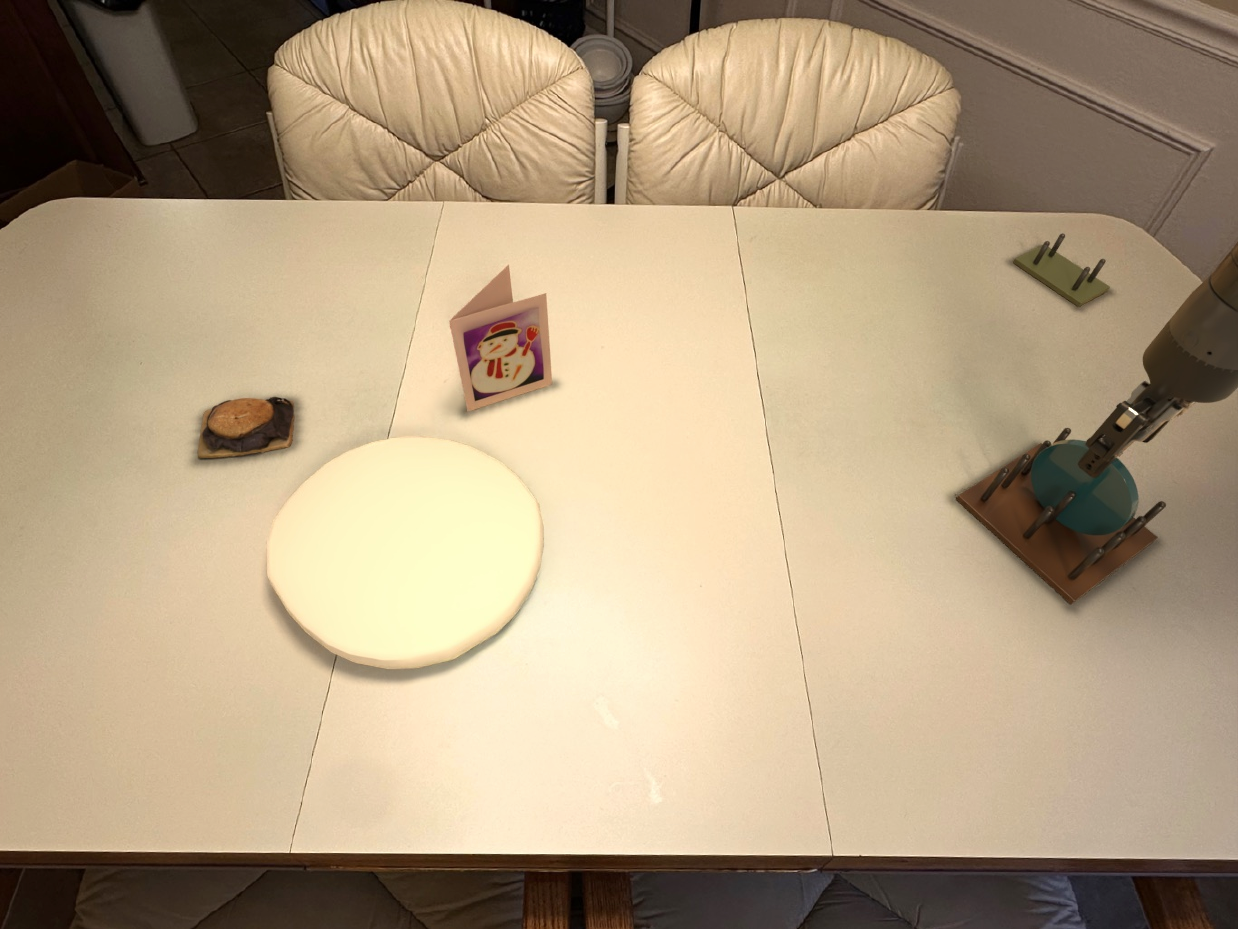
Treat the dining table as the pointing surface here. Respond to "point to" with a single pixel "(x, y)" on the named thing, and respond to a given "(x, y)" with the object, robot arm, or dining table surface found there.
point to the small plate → (1084, 489)
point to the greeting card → (501, 344)
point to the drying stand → (1062, 273)
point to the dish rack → (1051, 529)
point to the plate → (406, 551)
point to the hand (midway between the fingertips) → (1113, 453)
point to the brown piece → (246, 427)
